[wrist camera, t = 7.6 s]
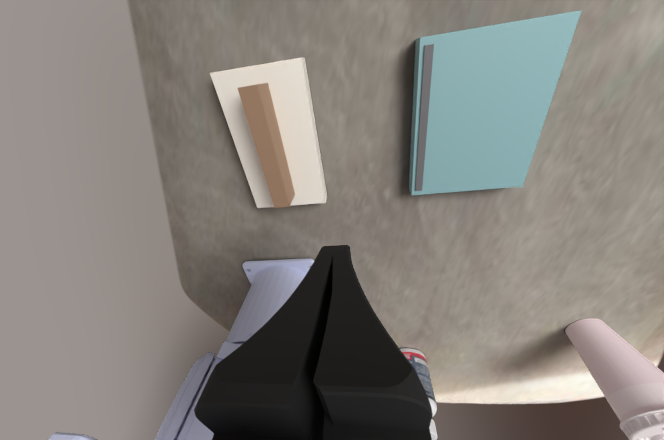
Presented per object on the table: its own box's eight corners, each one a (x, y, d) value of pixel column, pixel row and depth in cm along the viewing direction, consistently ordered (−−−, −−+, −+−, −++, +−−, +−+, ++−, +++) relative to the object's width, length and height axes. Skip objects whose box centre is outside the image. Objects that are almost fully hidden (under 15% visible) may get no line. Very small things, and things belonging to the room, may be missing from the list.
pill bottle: (408, 342, 32) (425, 425, 25) (432, 357, 34) (454, 440, 26) (379, 355, 34) (386, 434, 27) (402, 369, 36) (415, 447, 29)
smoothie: (543, 342, 30) (666, 522, 18) (564, 311, 26) (731, 508, 15) (602, 343, 29) (770, 532, 17) (631, 310, 25) (866, 519, 14)
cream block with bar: (327, 196, 20) (323, 215, 18) (262, 201, 21) (248, 221, 19) (304, 58, 15) (294, 56, 12) (218, 72, 16) (191, 73, 13)
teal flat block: (513, 179, 18) (523, 187, 17) (408, 188, 20) (411, 195, 19) (564, 14, 13) (583, 10, 12) (415, 39, 14) (420, 37, 13)
